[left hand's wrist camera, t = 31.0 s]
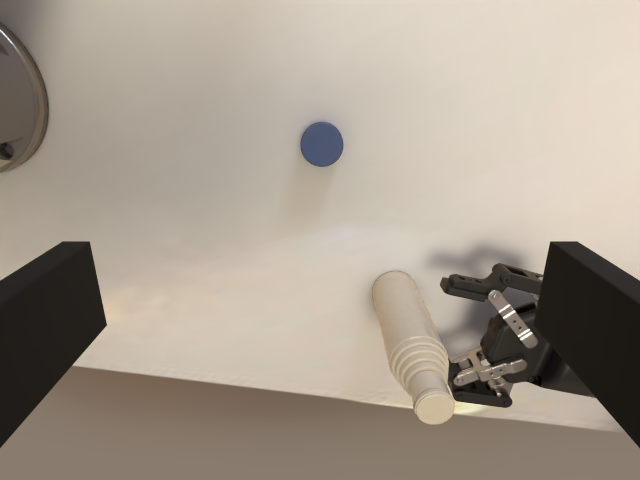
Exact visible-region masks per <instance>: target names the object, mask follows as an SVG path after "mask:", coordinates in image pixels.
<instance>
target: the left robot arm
mask: <svg viewBox="0 0 640 480" xmlns="http://www.w3.org/2000/svg"><path fill="white" fill-rule="evenodd" d="M47 116H48V105H47V97H46V92H45V88H44V84H43V81H42V78H41V76H40V73H39V71H38V69H37V67H36V65H35V63H34V61H33V59H32V58H31V56H30V54H29V53H28V51H27V50H26V48H25V47H24V46H23V45H22V43H21V42H20V41H19V40H18V38H17V37H16V36H15V35H14V34H13V33H12V32H11V31H10V30H9V29H8V28H6V27H5V26H4V25H3V24H2V23H0V173H1V172H4V171H8V170H11V169H13V168H15V167H17V166H19V165H21V164H22V163H24V162H25V161H26V160H27V159H28V158H29V157H30V156H31V155H32V154H33V153H34V152H35V151H36V149H37V148H38V146H39V144H40V143H41V141H42V138H43V136H44V133H45V129H46V124H47ZM106 326H107V323H106V319H105V314H104V309H103V304H102V299H101V294H100V289H99V285H98V280H97V275H96V270H95V265H94V260H93V255H92V251H91V246H90V242H61V243H60V244H58V245H57V246H55V247H53V248H52V249H50V250H49V251H47V252H45V253H44V254H42V255H41V256H39V257H37V258H36V259H34V260H33V261H31V262H29V263H28V264H26V265H25V266H23V267H22V268H20V269H18V270H17V271H15V272H14V273H12V274H10V275H9V276H7V277H6V278H4V279H2V280H1V281H0V448H1V446H2V445H3V444H4V443H5V442H6V441H7V440H8V438H9V437H10V436H11V435H12V434H13V433H14V431H15V430H16V429H17V428H18V427H19V426H20V425H21V423H22V422H23V421H24V420H25V419H26V418H27V416H28V415H29V414H30V413H31V412H32V411H33V410H34V409H35V407H36V406H37V405H38V404H39V403H40V402H41V400H42V399H43V398H44V397H45V396H46V395H47V394H48V392H49V391H50V390H51V389H52V388H53V387H54V385H55V384H56V383H57V382H58V381H59V380H60V379H61V377H62V376H63V375H64V374H65V373H66V372H67V370H68V369H69V368H70V367H71V366H72V365H73V364H74V362H75V361H76V360H77V359H78V358H79V357H80V356H81V354H82V353H83V352H84V351H85V350H86V349H87V347H88V346H89V345H90V344H91V343H92V342H93V341H94V339H95V338H96V337H97V336H98V335H99V334H100V333H101V331H102V330H103V329H104V328H105V327H106ZM533 326H534V327H535V328H536V329H537V330H538V331H539V333H540V334H541V335H542V336H543V337H544V338H545V339H546V341H547V342H548V343H549V344H550V345H551V346H552V347H553V349H554V350H555V351H556V352H557V353H558V354H559V356H560V357H561V358H562V359H563V360H564V361H565V362H566V364H567V365H568V366H569V367H570V368H571V369H572V371H573V372H574V373H575V374H576V375H577V376H578V377H579V379H580V380H581V381H582V382H583V383H584V384H585V385H586V387H587V388H588V389H589V390H590V391H591V392H592V394H593V395H594V396H595V397H596V398H597V399H598V400H599V402H600V403H601V404H602V405H603V406H604V407H605V409H606V410H607V411H608V412H609V413H610V414H611V415H612V417H613V418H614V419H615V420H616V421H617V422H618V423H619V425H620V426H621V427H622V428H623V429H624V430H625V432H626V433H627V434H628V435H629V436H630V437H631V438H632V440H633V441H634V442H635V443H636V444H637V445H638V446H639V448H640V281H639V280H638V279H636V278H634V277H633V276H631V275H630V274H628V273H626V272H625V271H623V270H622V269H620V268H618V267H617V266H615V265H614V264H612V263H611V262H609V261H607V260H606V259H604V258H603V257H601V256H599V255H598V254H596V253H595V252H593V251H591V250H590V249H588V248H587V247H585V246H583V245H582V244H580V243H579V242H550V246H549V251H548V255H547V260H546V265H545V270H544V275H543V280H542V285H541V289H540V294H539V299H538V304H537V309H536V314H535V319H534V323H533Z"/></svg>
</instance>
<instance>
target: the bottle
mask: <svg viewBox="0 0 640 480" xmlns="http://www.w3.org/2000/svg"><path fill="white" fill-rule="evenodd" d="M372 295H373V300H374V304H375V308H376V312H377V316H378V321H379V325H380V329H381V333H382V337H383V342H384V346H385V350H386V354H387V358H388V362H389V367H390V370H391V372H392V374H393V376H394V378H395V379H396V381H397V382H398V383H399V384H400V385H401V386H402V387H403V388H404V390H405V391H406V392H407V393H408V394H409V395H410V396H411V397H412V400H413V408H414V411H415V413H416V414H417V416H418V418H419V419H420V420H421V421H423V422H424V423H427V424H432V425H436V424H441V423H444V422H446V421H447V420H448V419H450V418H451V416H452V415H453V413H454V407H455V402H454V400H453V398H452V396H451V395H450V393H449V391H448V388H447V383H448V381H447V380H448V370H449V369H448V368H449V360H448V354H447V351H446V349H445V347H444V345H443V342H442V340H441V338H440V336H439V334H438V332H437V329H436V327H435V325H434V323H433V321H432V319H431V317H430V314H429V312H428V310H427V308H426V306H425V304H424V301H423V299H422V297H421V295H420V293H419V291H418V288H417V286H416V284H415V282H414V280H413V279H412V278H411V277H410V276H409V275H407V274H405V273H403V272H398V271H393V272H388V273H385V274H383V275H382V276H380V277H379V278H378V279H377V280H376V282H375V283H374V286H373V289H372Z"/></svg>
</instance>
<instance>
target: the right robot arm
mask: <svg viewBox="0 0 640 480" xmlns="http://www.w3.org/2000/svg"><path fill="white" fill-rule="evenodd" d="M542 280H543V275H541V274H537V273H534V272H530V271H527V270H523V269H519V268H516V267H512V266H509V265H505V264H501V263H498V264H495V265H494V266H493V268H492V273H491V274H490V275H489V276H488V277H487V278H485V279H476V278H472V277H467V276H461V275H457V274H454V275H450V276H449V278H445V277H443V278H442V280H441V283H440V286H441V288H442V290H443V291H444V292H445V293H446V294H449V295H453V296H458V297H463V298H467V299H472V300H477V301H482V302H484V301H485V299H489V301H490V302H491V303H492V304H493V306H494V307H495V308H496V309H497V311H498V312H499V313H500V314H498V315H496V316H495V317H494V318H491V319H490V321H489V323H488V330H487V332H486V334H485V335H484V336H483V338H482V340H481V342H480V345H481V347H478V348H476V349H473V350H470V351H468V353H467V355H466V356H463V357H461V358H458V359H455V360H452V361H450V360H449V358H448V360H449V368H448V369H449V370H448V380H447V381H448V385H449V387H450V389H451V392H452V395H453V397H454V399H455V400H456V401H459V402H466V403H474V404H481V405H489V406H496V407H504V408H507V407H509V406H511V405H512V400H511V398H510V396H509V394H510V391H511V389H512V386H513V384H514V383H519V382H529V383H532V384H535V385H537V386H539V387H542V388H547V389H552V390H557V391H562V392H567V393H573V394H578V395H583V396H588V397H594V398H596V397H595V396H594V395H593V394H592V392H591V391H590V390H589V389H588V388H587V387H586V385H585V384H584V383H583V382H582V381H581V380H580V379H579V377H578V376H577V375H576V374H575V373H574V372H573V371H572V369H571V368H570V367H569V366H568V365H567V364H566V362H565V361H564V360H563V359H562V358H561V357H560V356H559V354H558V353H557V352H556V351H555V350H554V349H553V347H552V346H551V345H550V344H549V343H548V342H547V341H546V339H545V338H544V337H543V336H542V335H541V334H540V333H539V331H538V330H537V329H536V328H535V327H534V326H533V323H534V319H535V314H536V309H537V304H538V299H539V294H540V289H541V285H542ZM506 287H511V288H515V289H518V290H522V291H526V292H529V294H530V295H531V296H532V297H533V298H534V299H535V302H531V303H528V304H525V305H522V306H519V307H516V308H512V306H511V305H510V304H509V303H508V301H507V300H506V299H505V298H504V296H503V295H502V294H501V293H502V292H503V291H504V290H505V288H506ZM484 359H487V361H488V362H489V363H490V364H491V365H488V366H483V365H482V364H481V363H480V361H481V360H484ZM471 367H472V368H471ZM468 368H470V369H468ZM465 369H467V370H465ZM462 370H465V371H462ZM499 376H501V377H500V378H498V379H493V378H496V377H499Z"/></svg>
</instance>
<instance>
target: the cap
mask: <svg viewBox="0 0 640 480" xmlns="http://www.w3.org/2000/svg"><path fill="white" fill-rule="evenodd" d="M342 150H343V140H342V137H341V134H340V132H339V131H338V129H337V128H336V127H335V126H333V125H332V124H329V123H326V122H318V123H314V124H312V125H311V126H309V127H308V128H307V129H306V131H305V132H304V134H303V137H302V140H301V151H302V154H303V156H304V157H305V159H306V160H307V161H308V162H310V163H311V164H313V165H315V166H320V167H324V166H329V165H331V164H333V163H334V162H336V161H337V160H338V159H339V157H340V155H341V153H342Z"/></svg>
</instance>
